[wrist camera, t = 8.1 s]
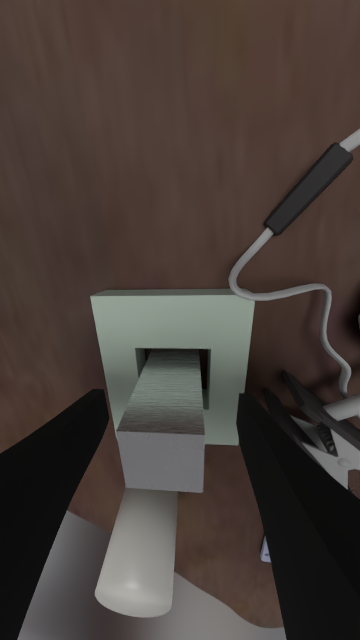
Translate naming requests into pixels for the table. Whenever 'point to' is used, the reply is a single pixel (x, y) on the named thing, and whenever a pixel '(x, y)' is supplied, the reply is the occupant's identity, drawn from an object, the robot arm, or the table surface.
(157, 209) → the table surface
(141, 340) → the socket board
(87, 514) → the table surface
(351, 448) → the clip-on lamp
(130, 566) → the cream round peg
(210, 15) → the table surface
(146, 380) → the steel square peg
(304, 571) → the robot arm
